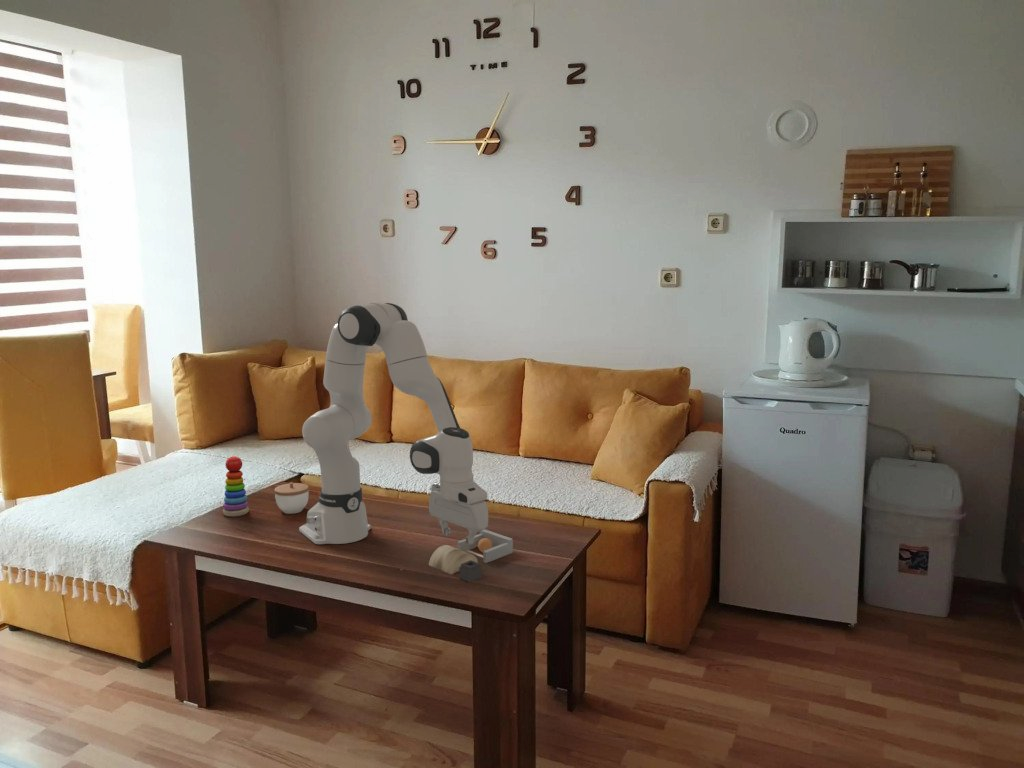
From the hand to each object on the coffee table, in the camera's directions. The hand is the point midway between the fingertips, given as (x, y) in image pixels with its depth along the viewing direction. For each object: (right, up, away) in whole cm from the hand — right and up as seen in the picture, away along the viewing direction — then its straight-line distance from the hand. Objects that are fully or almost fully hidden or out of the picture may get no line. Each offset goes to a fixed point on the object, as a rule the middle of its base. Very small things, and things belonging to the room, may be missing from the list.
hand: (458, 538), depth 212 cm
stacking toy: (-74, 0, +43) cm, 86 cm away
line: (+5, -6, +6) cm, 10 cm away
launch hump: (-1, -13, +1) cm, 13 cm away
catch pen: (+7, -5, +8) cm, 12 cm away
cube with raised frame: (+4, -8, -9) cm, 13 cm away
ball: (+7, -3, +8) cm, 11 cm away
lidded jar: (-57, 0, +45) cm, 73 cm away
